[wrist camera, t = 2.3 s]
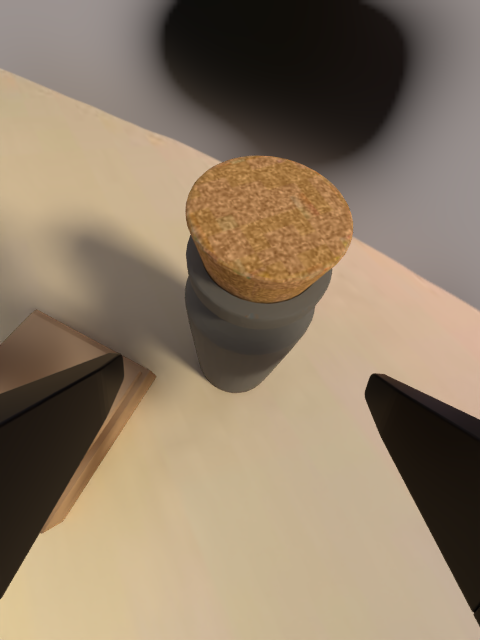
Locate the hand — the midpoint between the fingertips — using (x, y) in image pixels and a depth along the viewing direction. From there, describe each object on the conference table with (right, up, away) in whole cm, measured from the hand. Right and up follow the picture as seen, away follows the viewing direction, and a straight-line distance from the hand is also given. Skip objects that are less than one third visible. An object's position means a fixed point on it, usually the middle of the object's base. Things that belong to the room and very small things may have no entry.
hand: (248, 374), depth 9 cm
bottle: (-1, -1, +12) cm, 12 cm away
